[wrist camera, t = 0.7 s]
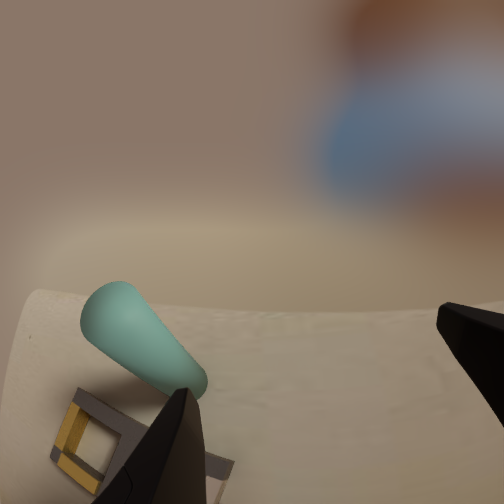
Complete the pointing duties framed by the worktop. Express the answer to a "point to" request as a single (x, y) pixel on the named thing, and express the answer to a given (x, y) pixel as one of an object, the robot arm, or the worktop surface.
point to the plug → (139, 340)
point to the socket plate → (131, 436)
